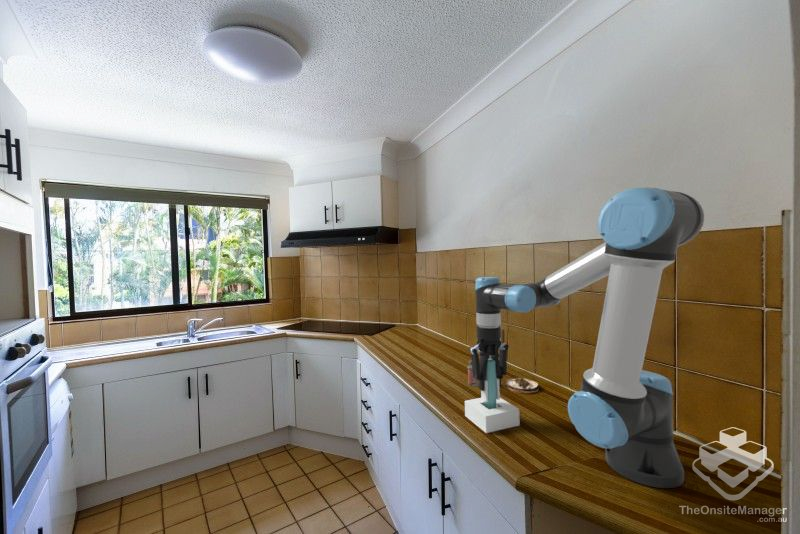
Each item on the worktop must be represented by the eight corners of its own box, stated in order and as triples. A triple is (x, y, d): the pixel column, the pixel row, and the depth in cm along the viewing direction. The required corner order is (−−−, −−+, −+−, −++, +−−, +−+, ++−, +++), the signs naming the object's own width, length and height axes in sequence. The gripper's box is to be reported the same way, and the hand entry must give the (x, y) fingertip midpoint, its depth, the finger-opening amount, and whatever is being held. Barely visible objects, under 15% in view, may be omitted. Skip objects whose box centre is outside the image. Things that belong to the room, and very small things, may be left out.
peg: (498, 411, 104) (497, 360, 104) (489, 413, 103) (487, 362, 103) (492, 406, 107) (490, 357, 107) (482, 408, 106) (481, 359, 106)
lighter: (487, 383, 137) (486, 359, 137) (488, 386, 134) (487, 361, 134) (467, 383, 138) (466, 359, 138) (468, 386, 134) (467, 361, 134)
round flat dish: (551, 392, 127) (551, 381, 126) (520, 399, 121) (519, 388, 121) (524, 379, 140) (524, 370, 140) (495, 385, 135) (494, 375, 135)
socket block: (519, 425, 101) (519, 409, 101) (486, 433, 97) (485, 416, 97) (495, 409, 113) (495, 394, 113) (465, 415, 109) (464, 400, 109)
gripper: (503, 321, 111) (504, 390, 111) (459, 326, 105) (461, 398, 106) (518, 325, 104) (519, 399, 104) (472, 330, 98) (474, 408, 99)
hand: (490, 398), depth 105 cm, fingers closed on peg, 3 cm apart
